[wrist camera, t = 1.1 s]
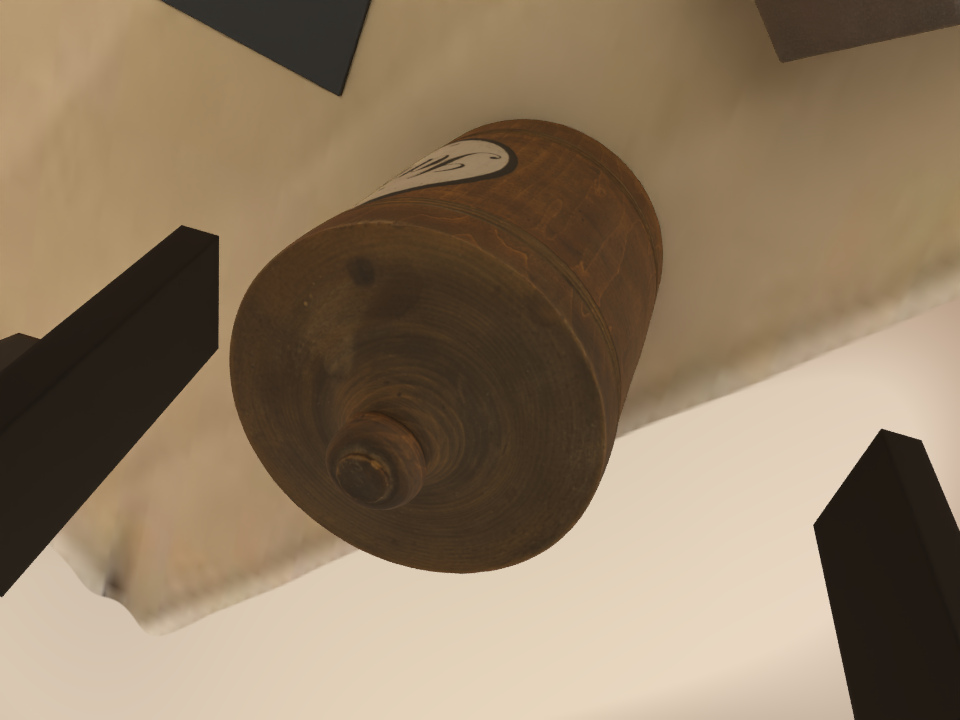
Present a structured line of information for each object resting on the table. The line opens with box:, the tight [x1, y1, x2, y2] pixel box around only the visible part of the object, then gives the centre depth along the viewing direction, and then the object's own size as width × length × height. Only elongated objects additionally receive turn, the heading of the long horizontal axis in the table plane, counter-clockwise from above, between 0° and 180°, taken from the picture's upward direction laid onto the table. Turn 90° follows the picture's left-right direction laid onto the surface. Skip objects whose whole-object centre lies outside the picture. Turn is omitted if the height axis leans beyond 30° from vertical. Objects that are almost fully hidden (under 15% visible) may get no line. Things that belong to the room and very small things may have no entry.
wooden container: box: [230, 119, 663, 574], centre depth 33 cm, size 15×15×22 cm
